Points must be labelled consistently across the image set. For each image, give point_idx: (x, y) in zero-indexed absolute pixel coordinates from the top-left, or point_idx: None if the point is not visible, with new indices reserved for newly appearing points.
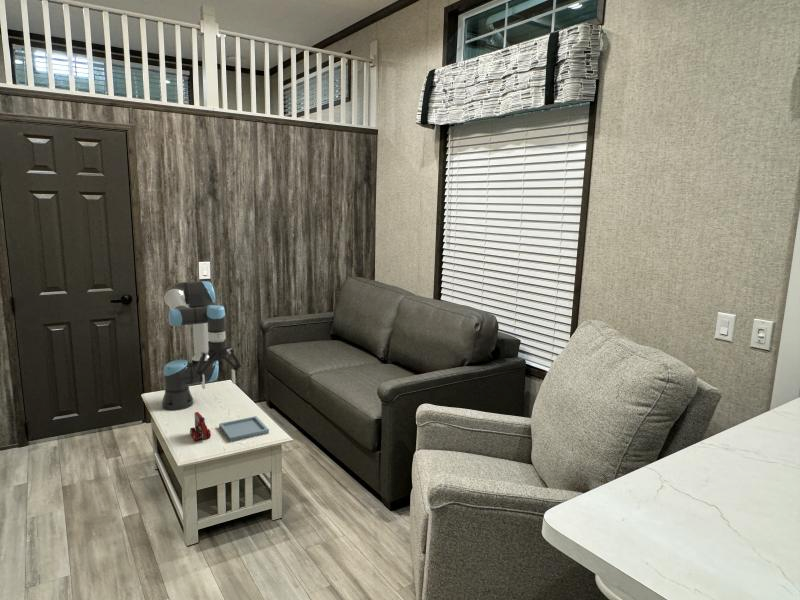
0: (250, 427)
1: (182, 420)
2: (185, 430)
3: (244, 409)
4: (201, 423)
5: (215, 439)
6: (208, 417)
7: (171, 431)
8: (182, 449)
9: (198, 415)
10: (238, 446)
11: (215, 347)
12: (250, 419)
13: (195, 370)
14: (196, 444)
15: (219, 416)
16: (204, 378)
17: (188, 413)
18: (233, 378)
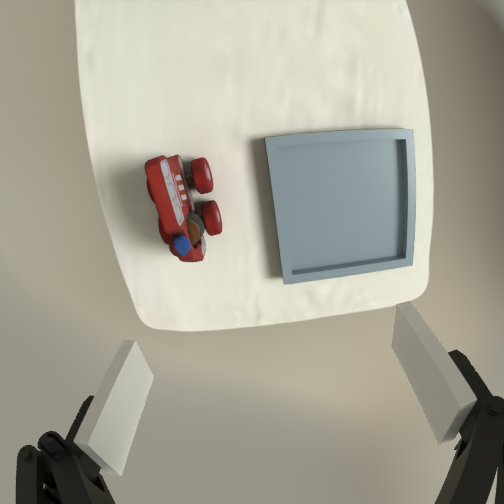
0: (371, 202)
1: (137, 31)
2: (140, 123)
3: (379, 14)
4: (178, 257)
5: (238, 239)
6: (234, 25)
7: (98, 120)
8: (137, 272)
9: (161, 211)
10: (299, 312)
11: None
12: (388, 139)
13: (26, 472)
14: None
15: (278, 30)
16: (129, 448)
17: None
18: (409, 376)
